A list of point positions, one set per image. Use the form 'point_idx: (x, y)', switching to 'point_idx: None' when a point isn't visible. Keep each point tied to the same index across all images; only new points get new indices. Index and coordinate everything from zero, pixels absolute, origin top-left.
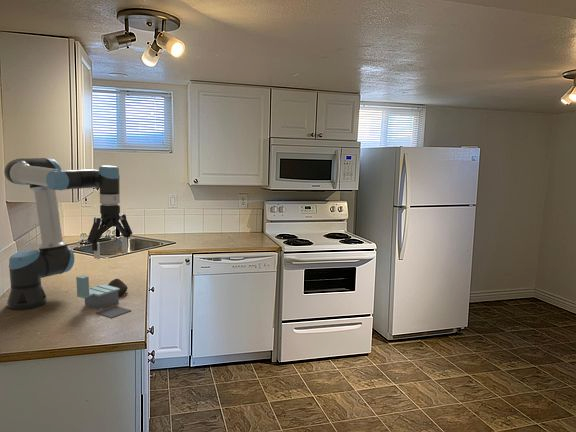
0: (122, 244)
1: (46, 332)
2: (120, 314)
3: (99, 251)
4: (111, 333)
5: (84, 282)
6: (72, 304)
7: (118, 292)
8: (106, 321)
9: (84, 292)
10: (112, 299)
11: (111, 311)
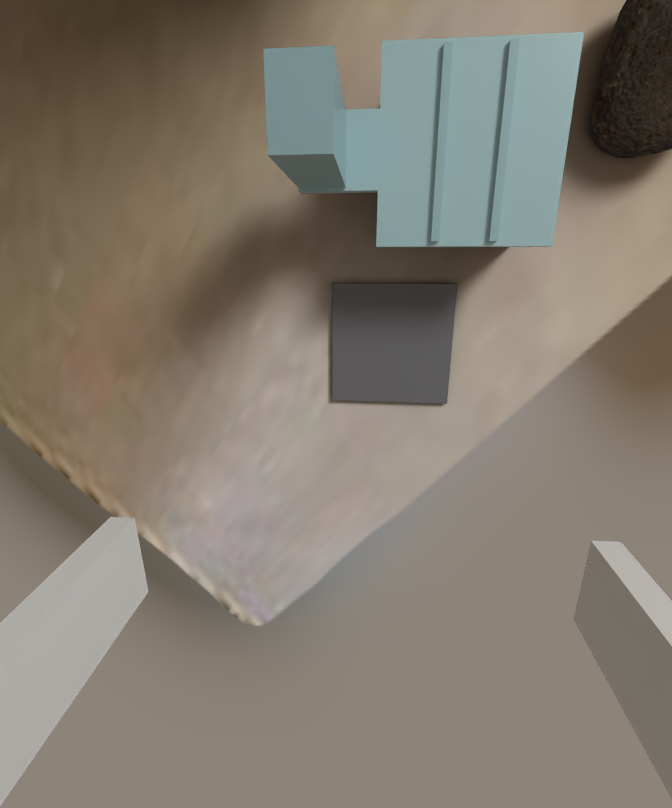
0: (662, 665)
1: (79, 300)
2: (382, 401)
3: (80, 680)
4: (234, 515)
5: (297, 165)
6: (353, 11)
7: (619, 134)
8: (296, 408)
9: (306, 183)
10: None
11: (384, 336)
